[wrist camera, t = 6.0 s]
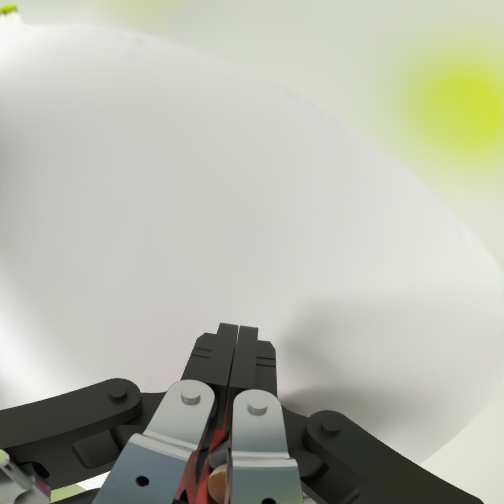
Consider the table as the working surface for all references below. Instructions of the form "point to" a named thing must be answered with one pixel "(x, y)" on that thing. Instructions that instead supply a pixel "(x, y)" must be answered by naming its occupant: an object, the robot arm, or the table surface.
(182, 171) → the table surface
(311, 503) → the usb wall charger
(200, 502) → the toy fire truck
